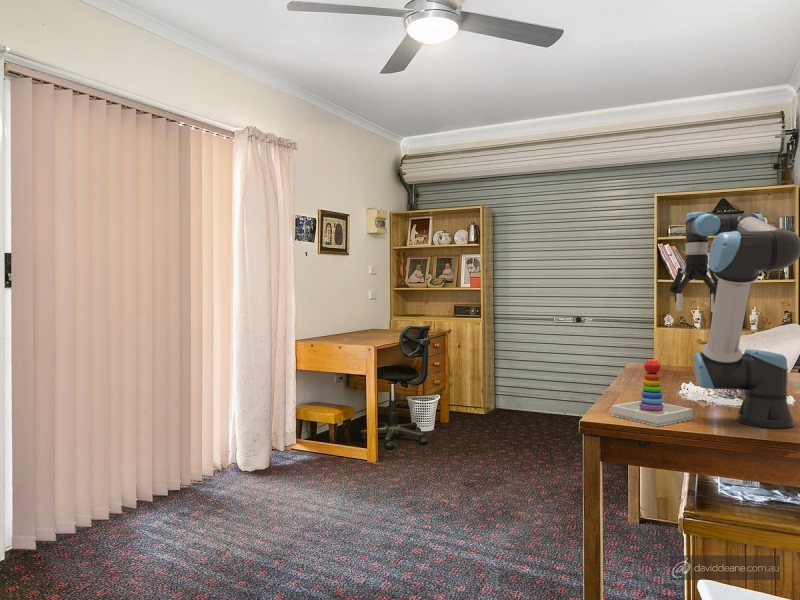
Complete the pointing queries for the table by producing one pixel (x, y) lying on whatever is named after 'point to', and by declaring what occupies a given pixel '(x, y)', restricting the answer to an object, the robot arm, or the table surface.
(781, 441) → the table surface
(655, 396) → the stacking toy
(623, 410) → the tray
